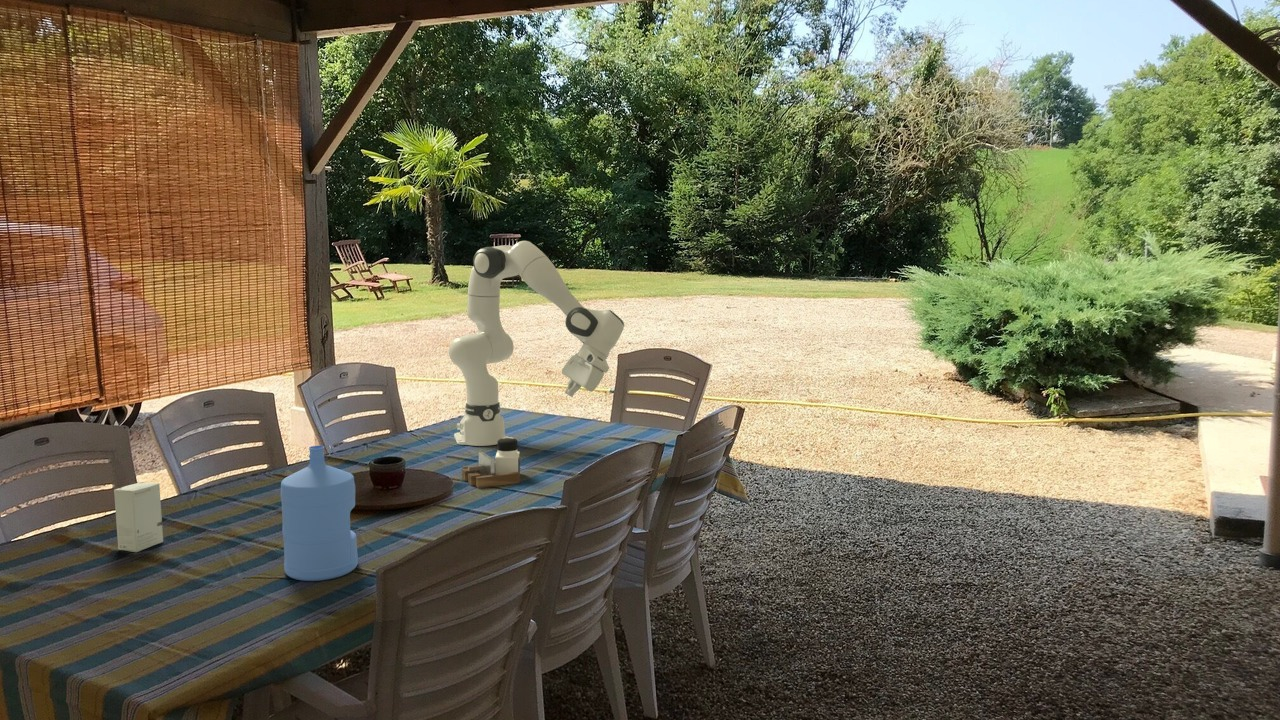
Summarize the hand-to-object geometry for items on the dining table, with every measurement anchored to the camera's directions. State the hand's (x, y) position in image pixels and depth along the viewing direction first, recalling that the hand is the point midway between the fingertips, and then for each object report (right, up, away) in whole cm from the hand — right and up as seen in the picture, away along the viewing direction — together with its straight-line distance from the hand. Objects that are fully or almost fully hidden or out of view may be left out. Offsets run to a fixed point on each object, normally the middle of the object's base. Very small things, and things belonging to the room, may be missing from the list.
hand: (568, 394), depth 291 cm
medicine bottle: (-18, -25, -9) cm, 32 cm away
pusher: (-26, -25, -14) cm, 39 cm away
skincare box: (-97, -34, -72) cm, 125 cm away
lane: (-23, -25, -12) cm, 36 cm away
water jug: (-48, -36, -86) cm, 105 cm away
